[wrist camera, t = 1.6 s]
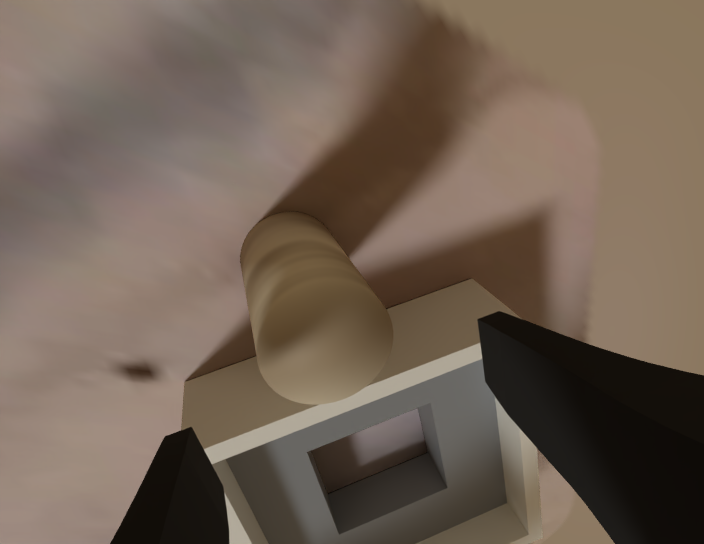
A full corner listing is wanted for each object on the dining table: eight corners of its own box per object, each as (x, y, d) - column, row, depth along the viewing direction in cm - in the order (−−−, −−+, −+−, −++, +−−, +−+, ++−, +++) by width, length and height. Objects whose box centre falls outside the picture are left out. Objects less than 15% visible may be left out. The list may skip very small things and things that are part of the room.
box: (496, 472, 29) (542, 537, 25) (278, 567, 27) (291, 653, 23) (472, 278, 23) (528, 323, 19) (184, 382, 20) (179, 458, 17)
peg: (345, 283, 21) (404, 376, 15) (258, 313, 20) (281, 423, 14) (322, 199, 19) (378, 264, 13) (226, 229, 18) (236, 313, 12)
